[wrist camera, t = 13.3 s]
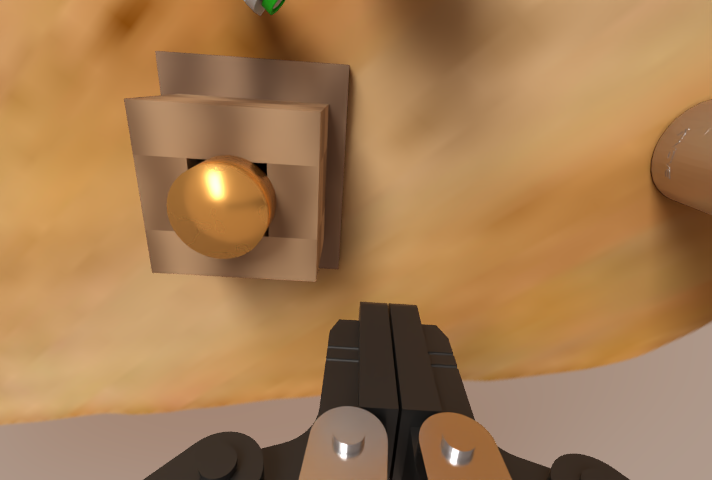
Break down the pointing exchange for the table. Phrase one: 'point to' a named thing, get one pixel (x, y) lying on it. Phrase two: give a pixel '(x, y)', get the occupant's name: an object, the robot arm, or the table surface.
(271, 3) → the mechanical component
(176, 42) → the table surface
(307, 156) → the hitch block
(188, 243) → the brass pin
